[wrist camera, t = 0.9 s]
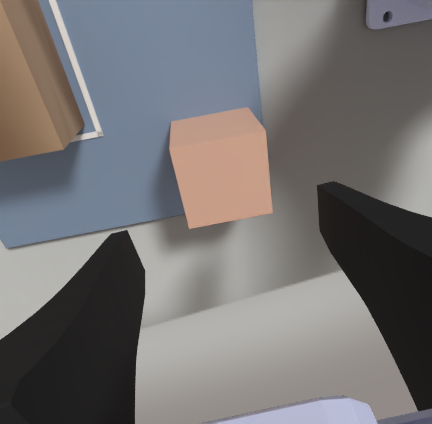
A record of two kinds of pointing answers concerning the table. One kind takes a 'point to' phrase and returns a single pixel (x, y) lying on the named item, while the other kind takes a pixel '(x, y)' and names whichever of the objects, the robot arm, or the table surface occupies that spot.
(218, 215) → the terracotta block
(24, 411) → the robot arm
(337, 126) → the table surface
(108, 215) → the blueprint plate
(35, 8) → the walnut block
